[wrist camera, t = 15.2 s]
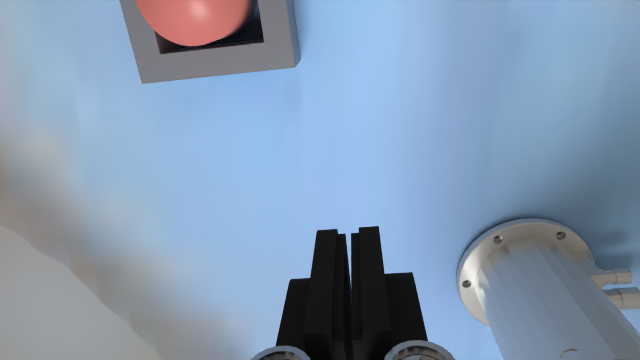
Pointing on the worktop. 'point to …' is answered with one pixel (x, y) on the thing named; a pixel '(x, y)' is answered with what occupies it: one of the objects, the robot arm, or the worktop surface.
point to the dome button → (196, 18)
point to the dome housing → (214, 47)
